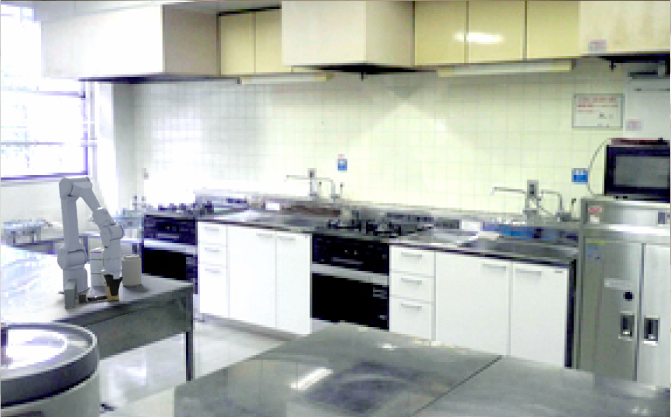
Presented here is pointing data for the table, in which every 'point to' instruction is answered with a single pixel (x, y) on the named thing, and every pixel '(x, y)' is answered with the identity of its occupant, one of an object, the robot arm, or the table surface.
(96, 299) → the plug
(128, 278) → the can
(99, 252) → the syrup box
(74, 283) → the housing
